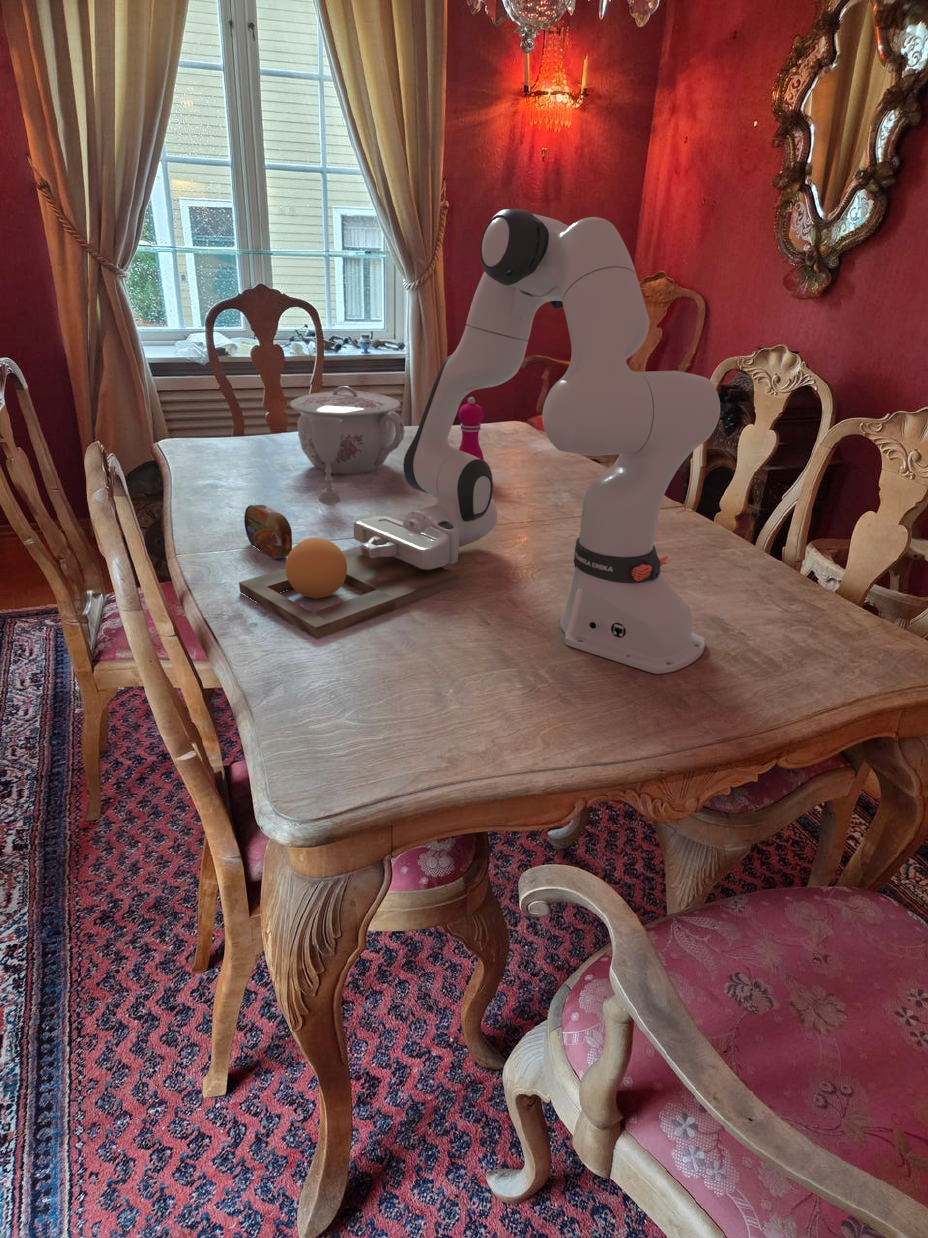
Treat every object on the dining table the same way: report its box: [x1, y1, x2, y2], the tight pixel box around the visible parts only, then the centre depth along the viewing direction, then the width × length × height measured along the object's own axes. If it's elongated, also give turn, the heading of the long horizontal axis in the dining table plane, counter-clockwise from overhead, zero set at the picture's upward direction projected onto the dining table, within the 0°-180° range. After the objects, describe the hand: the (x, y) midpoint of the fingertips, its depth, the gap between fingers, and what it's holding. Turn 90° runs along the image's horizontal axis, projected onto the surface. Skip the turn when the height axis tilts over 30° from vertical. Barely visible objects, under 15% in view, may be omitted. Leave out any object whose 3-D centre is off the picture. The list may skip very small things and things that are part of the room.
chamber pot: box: [289, 385, 405, 476], centre depth 193 cm, size 28×28×21 cm
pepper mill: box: [458, 396, 485, 461], centre depth 188 cm, size 7×7×20 cm
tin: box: [243, 504, 293, 560], centre depth 144 cm, size 15×3×8 cm, turn 40°
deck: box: [238, 545, 460, 640], centre depth 131 cm, size 22×30×2 cm
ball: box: [285, 537, 347, 599], centre depth 126 cm, size 10×10×10 cm
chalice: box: [309, 417, 342, 504], centre depth 170 cm, size 7×7×18 cm
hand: (365, 551), depth 131 cm, fingers closed
